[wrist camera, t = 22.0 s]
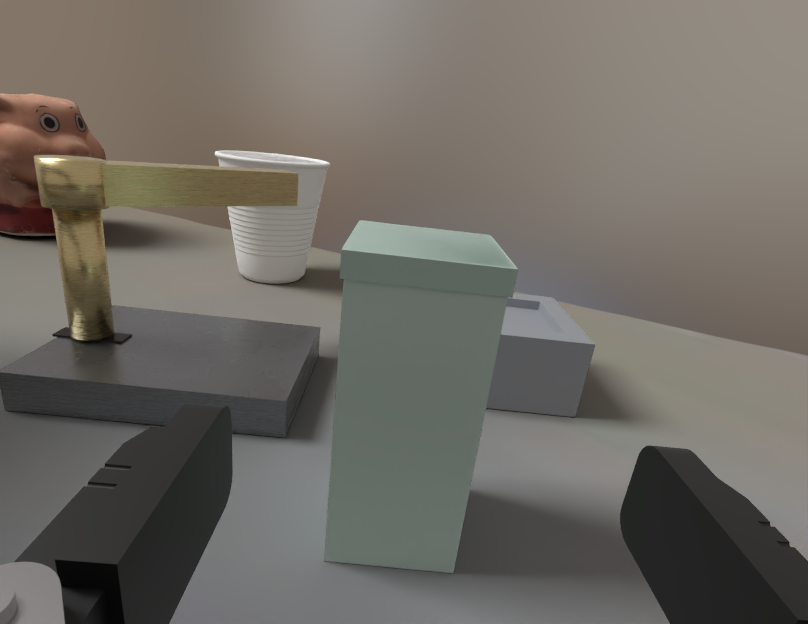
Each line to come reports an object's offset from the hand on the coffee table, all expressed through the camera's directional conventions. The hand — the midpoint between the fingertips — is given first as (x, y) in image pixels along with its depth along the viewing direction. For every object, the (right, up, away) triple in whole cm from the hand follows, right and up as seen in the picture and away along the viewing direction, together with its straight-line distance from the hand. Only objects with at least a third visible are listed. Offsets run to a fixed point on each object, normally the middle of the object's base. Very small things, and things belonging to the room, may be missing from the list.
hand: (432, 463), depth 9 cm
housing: (+5, -1, +22) cm, 22 cm away
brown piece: (-14, +3, +19) cm, 24 cm away
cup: (-13, +6, +37) cm, 40 cm away
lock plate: (-13, -1, +17) cm, 21 cm away
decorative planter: (-42, +12, +43) cm, 61 cm away
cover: (-1, -5, +9) cm, 11 cm away
